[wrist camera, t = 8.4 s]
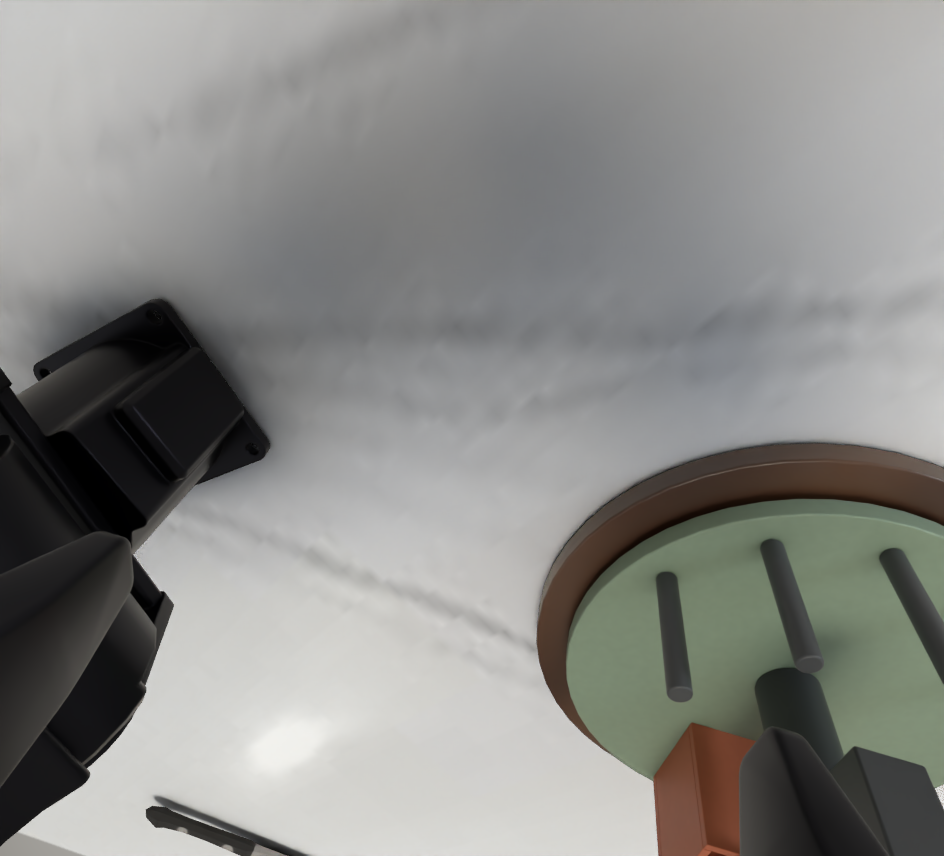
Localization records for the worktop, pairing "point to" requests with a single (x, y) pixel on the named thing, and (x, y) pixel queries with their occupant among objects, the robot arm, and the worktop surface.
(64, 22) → the worktop surface
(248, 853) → the chef's knife
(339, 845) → the worktop surface
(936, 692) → the drying rack
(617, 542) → the turntable base
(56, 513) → the robot arm
